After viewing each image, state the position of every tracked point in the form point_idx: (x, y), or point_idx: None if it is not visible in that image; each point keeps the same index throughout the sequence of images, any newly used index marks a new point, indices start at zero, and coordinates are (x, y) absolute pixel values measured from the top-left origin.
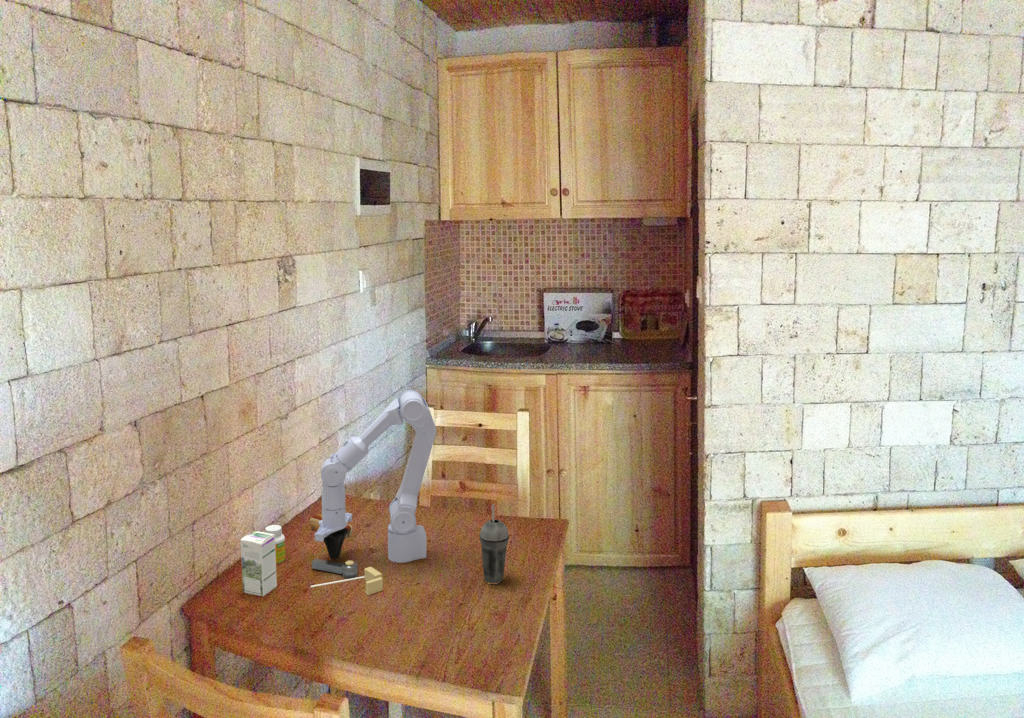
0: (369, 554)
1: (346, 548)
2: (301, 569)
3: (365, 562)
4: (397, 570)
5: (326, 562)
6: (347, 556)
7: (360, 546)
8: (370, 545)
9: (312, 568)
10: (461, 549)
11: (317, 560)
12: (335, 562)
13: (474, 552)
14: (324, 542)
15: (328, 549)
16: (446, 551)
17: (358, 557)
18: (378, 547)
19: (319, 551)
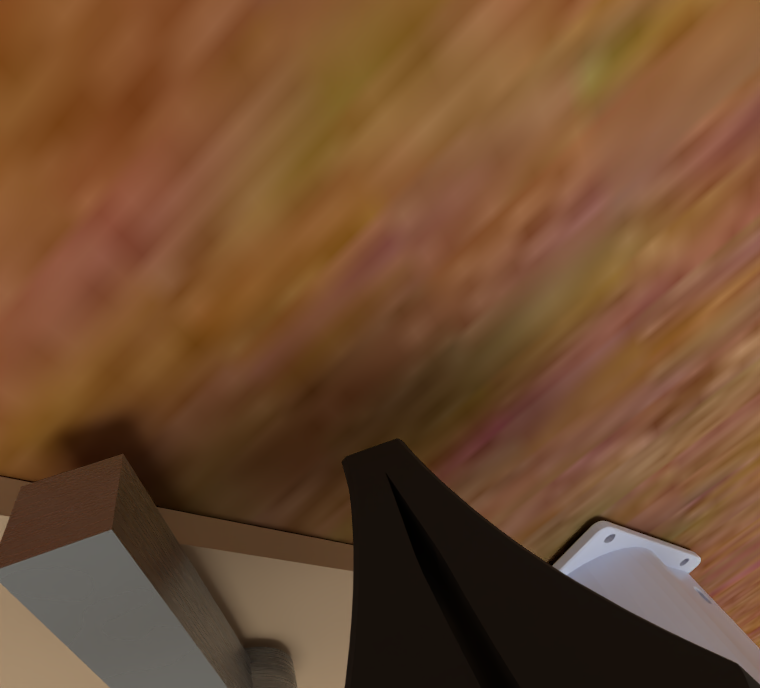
0: (619, 435)
1: (686, 231)
2: (12, 231)
3: (504, 506)
4: None
5: (145, 654)
6: (548, 357)
7: (732, 294)
8: (752, 336)
9: (25, 491)
10: (731, 607)
11: (91, 577)
12: (219, 682)
13: None
14: (345, 682)
15: (361, 552)
16: None
17: (557, 424)
18: (725, 395)
19: (567, 16)
